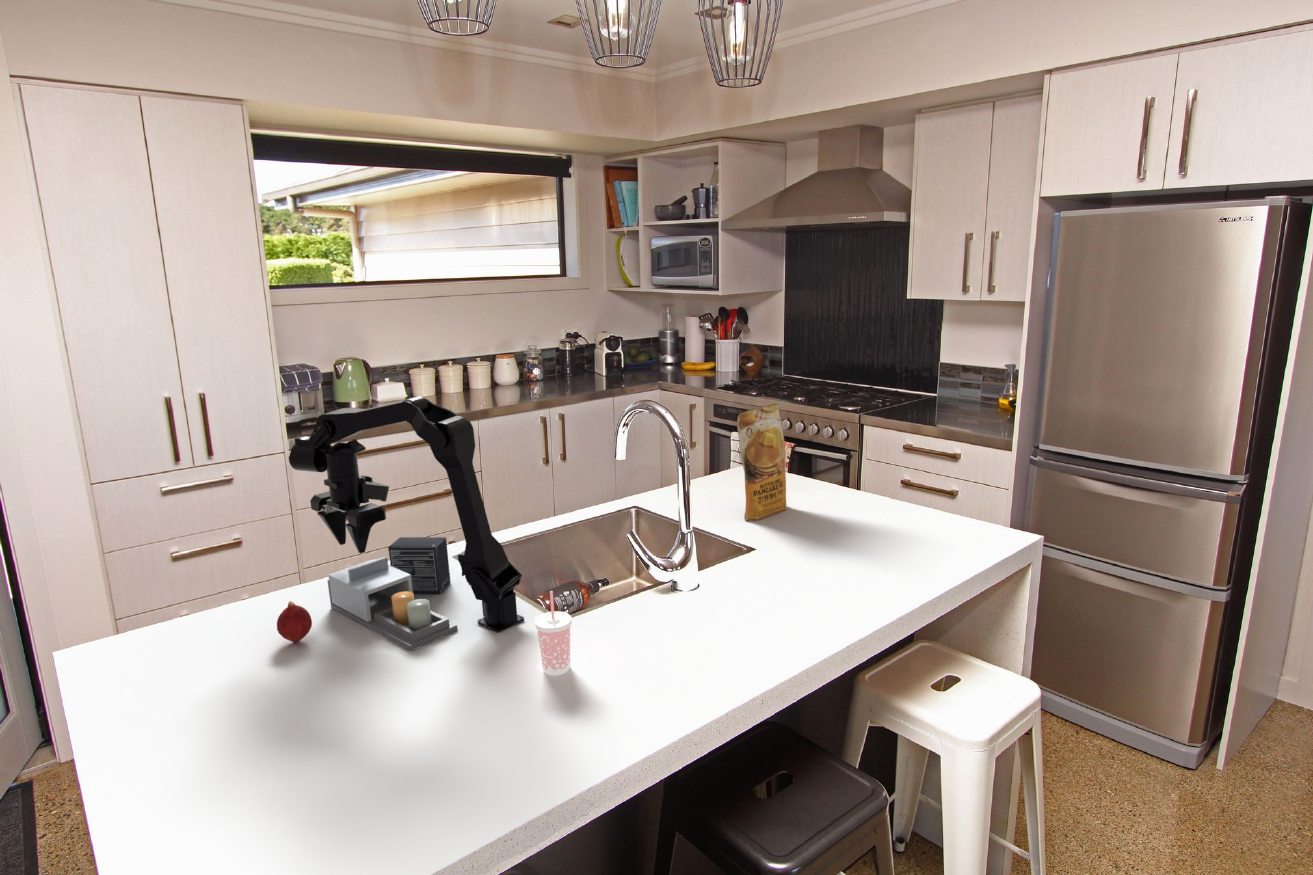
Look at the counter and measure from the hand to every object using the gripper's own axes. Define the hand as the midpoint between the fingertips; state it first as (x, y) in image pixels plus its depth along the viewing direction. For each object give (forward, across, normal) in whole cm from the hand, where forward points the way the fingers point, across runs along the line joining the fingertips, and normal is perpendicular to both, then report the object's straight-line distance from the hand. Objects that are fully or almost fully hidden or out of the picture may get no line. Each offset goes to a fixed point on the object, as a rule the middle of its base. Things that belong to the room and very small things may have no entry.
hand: (352, 548), depth 158 cm
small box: (+12, -4, -12) cm, 18 cm away
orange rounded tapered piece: (+10, -17, 0) cm, 20 cm away
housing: (+12, -12, 0) cm, 17 cm away
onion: (+12, -6, +16) cm, 21 cm away
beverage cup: (+12, -52, -7) cm, 53 cm away
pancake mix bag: (+11, -37, -94) cm, 102 cm away
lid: (+10, -5, 0) cm, 12 cm away
